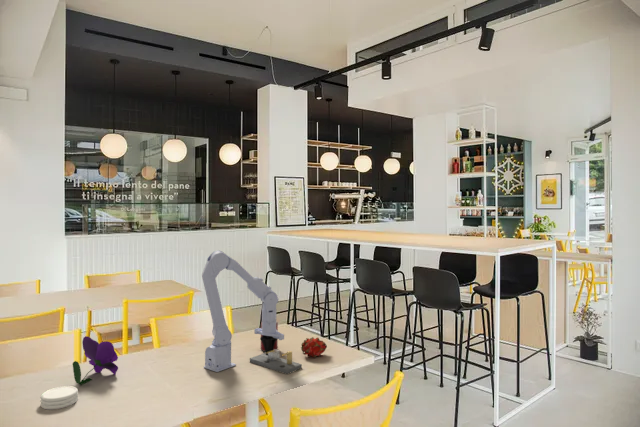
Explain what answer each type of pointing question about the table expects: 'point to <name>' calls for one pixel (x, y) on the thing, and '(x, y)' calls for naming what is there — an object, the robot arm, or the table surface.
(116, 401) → the table surface
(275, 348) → the soda can
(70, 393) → the coaster
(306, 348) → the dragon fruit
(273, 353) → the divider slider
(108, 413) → the table surface
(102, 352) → the flower
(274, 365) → the cube slider plate
